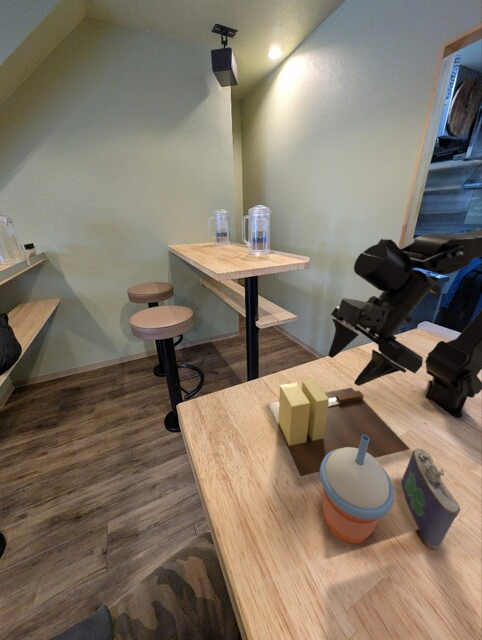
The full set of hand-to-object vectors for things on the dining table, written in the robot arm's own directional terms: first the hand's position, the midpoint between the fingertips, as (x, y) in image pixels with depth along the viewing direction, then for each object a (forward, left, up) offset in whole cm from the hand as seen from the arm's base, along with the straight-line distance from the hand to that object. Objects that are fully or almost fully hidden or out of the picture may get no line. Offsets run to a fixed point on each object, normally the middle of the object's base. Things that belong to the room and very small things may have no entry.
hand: (342, 369), depth 49 cm
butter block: (+7, +8, -13) cm, 16 cm away
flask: (-15, +11, -15) cm, 24 cm away
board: (0, +1, -15) cm, 15 cm away
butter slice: (+4, +5, -13) cm, 14 cm away
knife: (+2, -5, -13) cm, 14 cm away
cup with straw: (-6, +18, -15) cm, 24 cm away
